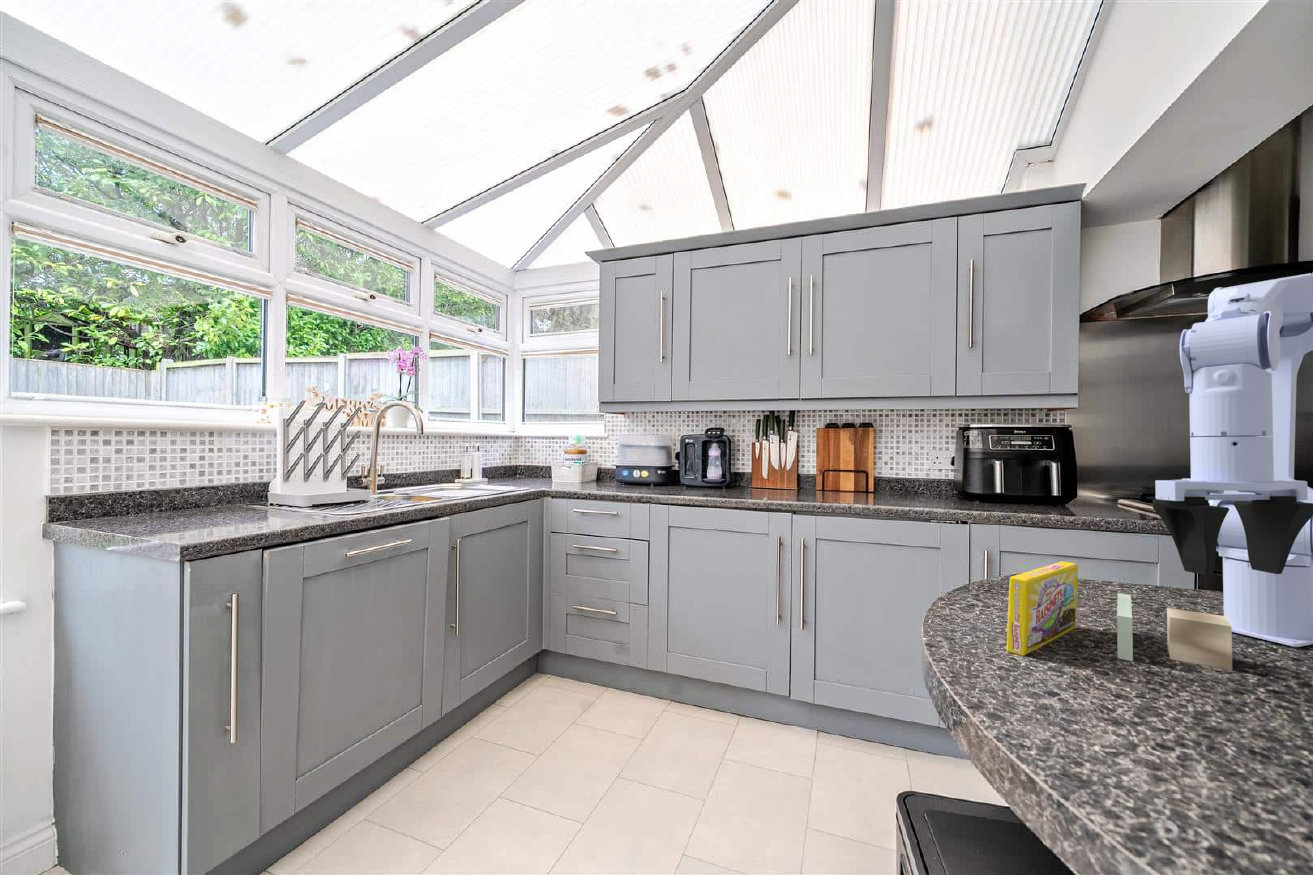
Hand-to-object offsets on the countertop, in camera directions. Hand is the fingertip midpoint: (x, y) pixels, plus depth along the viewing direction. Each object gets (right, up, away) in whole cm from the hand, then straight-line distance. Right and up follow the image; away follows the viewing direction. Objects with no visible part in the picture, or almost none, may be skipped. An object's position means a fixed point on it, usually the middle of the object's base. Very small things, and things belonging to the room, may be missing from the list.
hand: (1232, 572), depth 54 cm
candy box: (-13, -10, +9) cm, 18 cm away
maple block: (0, -10, +3) cm, 11 cm away
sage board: (-5, -10, +7) cm, 13 cm away
